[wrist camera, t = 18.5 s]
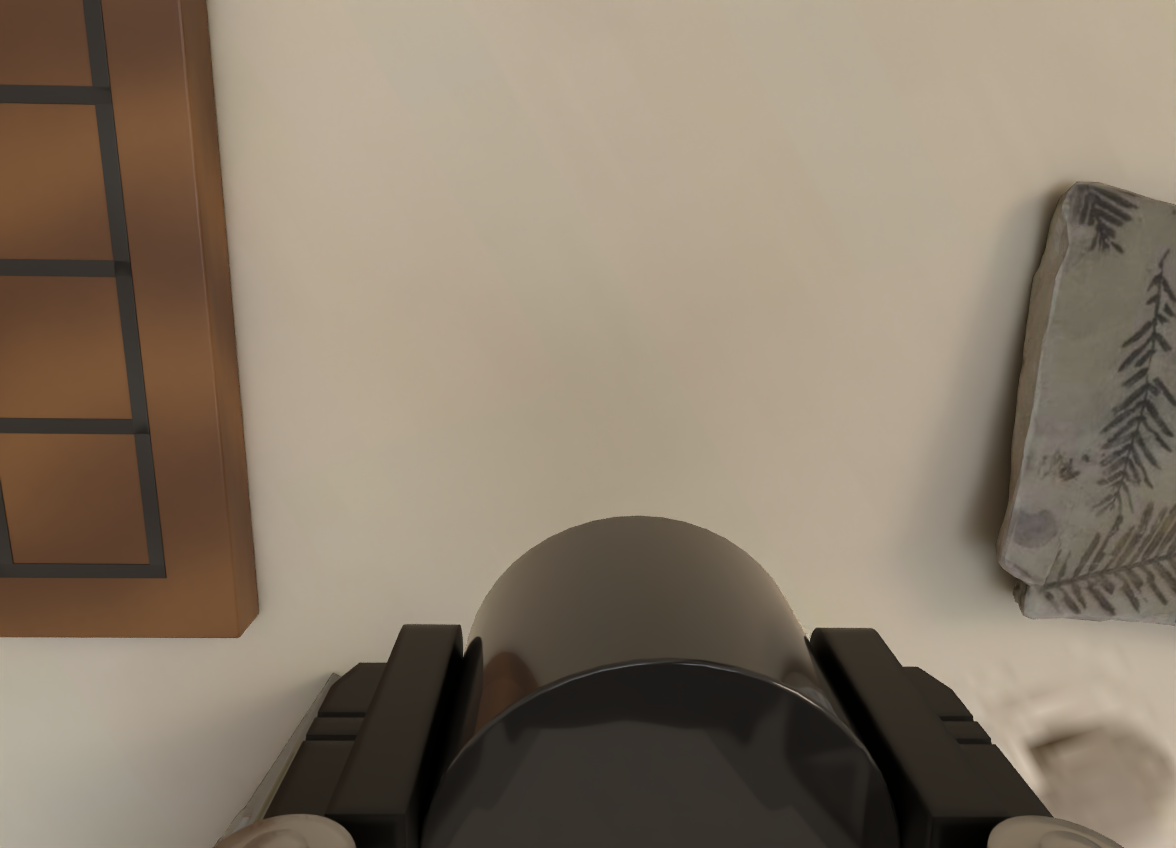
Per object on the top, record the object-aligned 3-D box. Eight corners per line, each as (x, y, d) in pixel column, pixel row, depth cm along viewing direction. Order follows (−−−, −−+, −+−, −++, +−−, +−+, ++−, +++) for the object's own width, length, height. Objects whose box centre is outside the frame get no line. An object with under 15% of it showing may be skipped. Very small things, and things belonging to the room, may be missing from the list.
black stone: (461, 512, 11) (405, 658, 7) (814, 515, 11) (931, 661, 7) (467, 815, 12) (423, 1070, 8) (787, 816, 12) (878, 1068, 8)
